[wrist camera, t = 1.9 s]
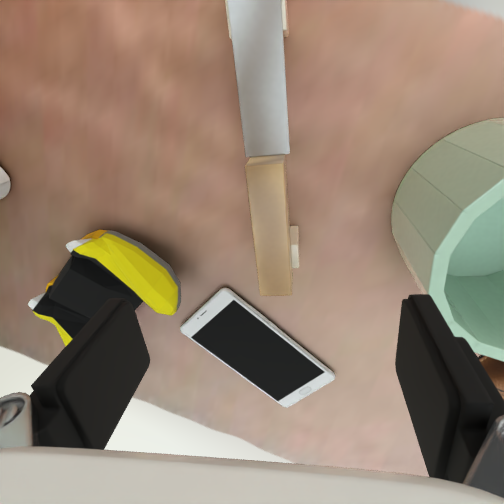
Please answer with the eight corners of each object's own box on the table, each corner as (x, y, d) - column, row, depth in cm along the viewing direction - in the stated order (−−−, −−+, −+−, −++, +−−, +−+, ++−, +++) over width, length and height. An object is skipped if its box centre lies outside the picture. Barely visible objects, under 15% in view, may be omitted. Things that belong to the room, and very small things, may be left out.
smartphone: (285, 409, 36) (177, 330, 33) (285, 404, 37) (179, 326, 34) (338, 378, 33) (224, 287, 30) (337, 373, 34) (225, 283, 30)
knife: (278, -54, 17) (274, -76, 14) (296, 274, 25) (296, 295, 23) (223, -43, 17) (210, -63, 15) (260, 275, 26) (255, 296, 23)
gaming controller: (203, 270, 30) (111, 197, 28) (185, 307, 25) (72, 223, 23) (123, 352, 37) (43, 298, 34) (96, 394, 32) (1, 334, 30)
